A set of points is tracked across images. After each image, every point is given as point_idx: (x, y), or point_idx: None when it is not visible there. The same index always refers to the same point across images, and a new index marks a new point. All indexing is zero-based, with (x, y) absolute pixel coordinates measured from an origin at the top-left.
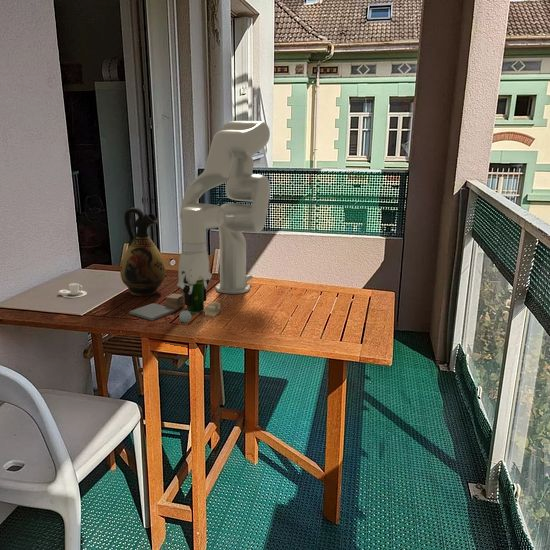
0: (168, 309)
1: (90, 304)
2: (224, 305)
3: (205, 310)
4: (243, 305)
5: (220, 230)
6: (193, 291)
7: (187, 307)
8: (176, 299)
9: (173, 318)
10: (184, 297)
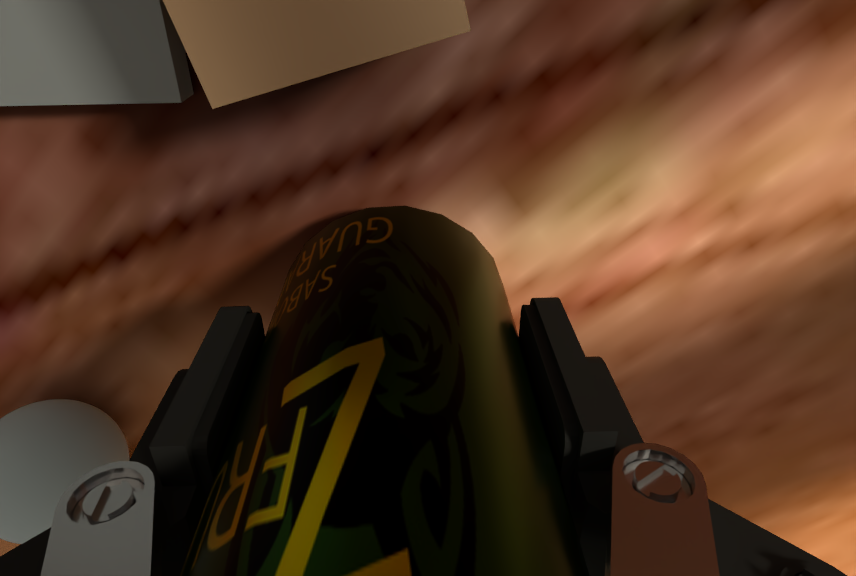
0: (83, 19)
1: None
2: (739, 391)
3: None
4: (810, 503)
5: None
6: None
7: (292, 272)
8: (210, 86)
9: (28, 261)
10: (188, 372)
